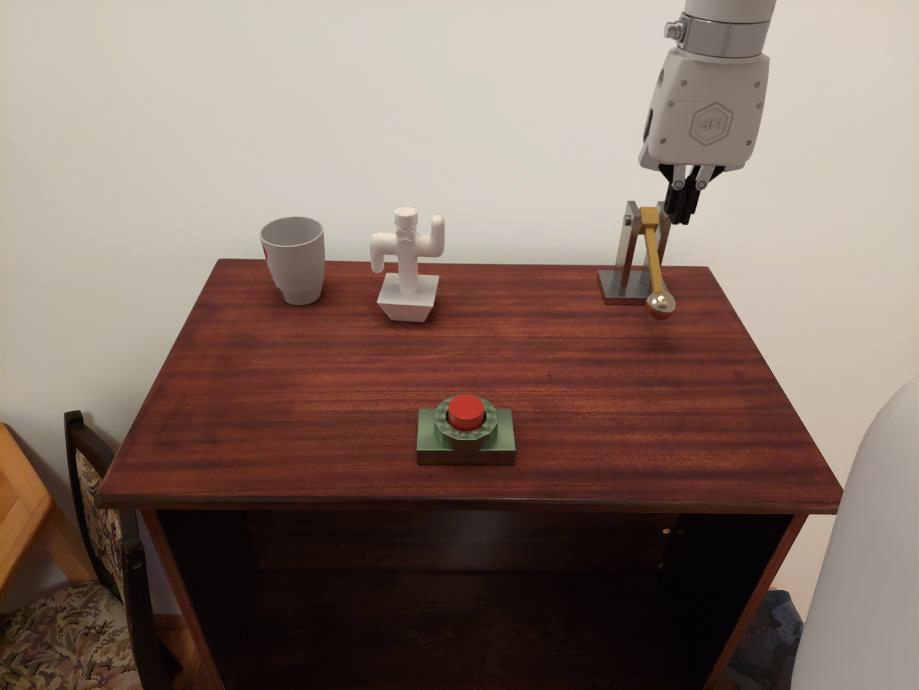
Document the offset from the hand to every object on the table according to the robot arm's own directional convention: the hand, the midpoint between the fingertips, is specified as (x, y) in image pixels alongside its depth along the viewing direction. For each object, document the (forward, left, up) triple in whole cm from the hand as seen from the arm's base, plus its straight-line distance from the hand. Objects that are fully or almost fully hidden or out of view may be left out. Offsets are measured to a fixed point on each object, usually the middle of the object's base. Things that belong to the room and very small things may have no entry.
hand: (676, 218), depth 70 cm
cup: (+36, +30, -18) cm, 50 cm away
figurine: (+24, +20, -18) cm, 36 cm away
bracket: (+10, -9, -18) cm, 22 cm away
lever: (+5, -5, -11) cm, 14 cm away
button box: (0, +28, -18) cm, 33 cm away
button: (0, +28, -14) cm, 32 cm away
